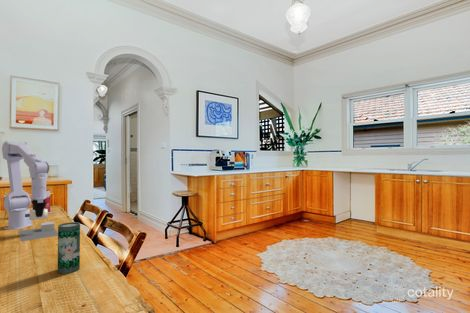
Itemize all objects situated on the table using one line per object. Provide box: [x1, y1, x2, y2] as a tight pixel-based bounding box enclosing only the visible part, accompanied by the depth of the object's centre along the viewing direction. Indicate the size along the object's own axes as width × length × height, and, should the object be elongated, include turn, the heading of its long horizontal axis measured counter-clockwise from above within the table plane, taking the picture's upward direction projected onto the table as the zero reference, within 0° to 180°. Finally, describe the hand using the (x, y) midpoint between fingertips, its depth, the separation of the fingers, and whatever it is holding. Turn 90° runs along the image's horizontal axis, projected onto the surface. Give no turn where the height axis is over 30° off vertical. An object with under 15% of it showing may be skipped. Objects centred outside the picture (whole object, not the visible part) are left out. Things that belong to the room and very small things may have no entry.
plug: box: [25, 209, 53, 221], centre depth 128 cm, size 10×4×4 cm, turn 131°
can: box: [57, 221, 81, 275], centre depth 89 cm, size 6×6×15 cm
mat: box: [18, 227, 58, 242], centre depth 127 cm, size 20×14×1 cm
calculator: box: [32, 189, 51, 212], centre depth 167 cm, size 11×4×15 cm, turn 179°
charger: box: [40, 221, 55, 231], centre depth 134 cm, size 5×5×3 cm
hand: (38, 215), depth 127 cm, fingers closed on plug, 4 cm apart
